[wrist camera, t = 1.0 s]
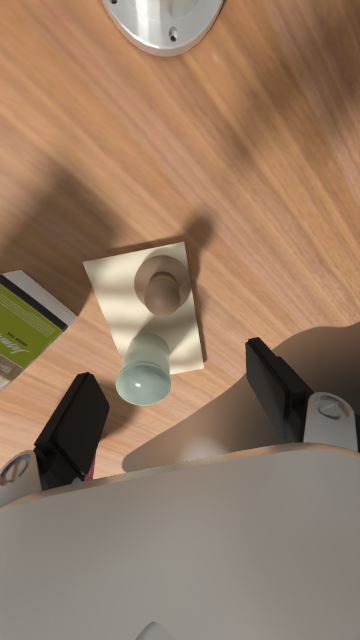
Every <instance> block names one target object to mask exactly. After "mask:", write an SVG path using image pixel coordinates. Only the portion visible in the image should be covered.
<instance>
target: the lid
mask: <svg viewBox="0 0 360 640" xmlns="http://www.w3.org/2000/svg"><path fill="white" fill-rule="evenodd" d="M134 288H135V292H136V295H137V297H138V299H139V300H140V301H141V303H142V304H143V305H145V306H146V307H147V309H148V310H149V311H150V312H151V313H153V314H154V315H157V316H168V315H171V314H173V313H174V312H175V311H176V310H177V309H178V308H179V307H181V306H182V305H183V304H184V303H185V302H186V300H187V299H188V297H189V295H190V292H191V278H190V275H189V272H188V271H187V269H186V267H185V266H184V265H183V264H182V263H181V262H180V261H179V260H177V259H176V258H174V257H171V256H167V255H157V256H153V257H151V258H149V259H147V260H146V261H145V262H143V264H142V265H141V266H140V267H139V269H138V270H137V272H136V275H135V279H134Z"/></svg>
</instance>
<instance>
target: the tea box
mask: <svg viewBox="0 0 360 640" xmlns="http://www.w3.org/2000/svg"><path fill="white" fill-rule="evenodd" d="M76 319H77V316H76V315H75V314H74V313H73V312H72V311H71V310H69V309H68V308H67V307H66V306H65V305H63V304H62V303H61V302H60V301H59V300H57V299H56V298H55V297H54V296H52V295H51V294H50V293H49V292H48V291H46V290H45V289H44V288H43V287H42V286H40V285H39V284H38V283H37V282H36V281H34V280H33V279H32V278H31V277H29V276H28V275H27V274H26V273H24V272H23V271H22V270H17V271H12V272H7V273H3V274H0V392H1V391H2V390H3V389H4V388H5V387H7V386H8V385H9V384H10V383H11V382H12V381H13V380H14V379H15V378H16V377H17V376H19V375H20V374H21V373H22V372H23V371H24V370H25V369H26V368H27V367H28V366H29V365H30V364H31V363H32V362H33V361H34V360H35V359H36V358H37V357H38V356H39V355H40V354H41V353H42V352H43V351H44V350H45V349H46V348H47V347H48V346H49V345H50V344H51V343H52V342H53V341H54V340H55V339H56V338H58V337H59V336H60V335H61V334H62V333H63V332H64V331H65V330H66V329H67V328H68V327H69V326H70V325H71V324H72V323H73V322H74V321H75V320H76Z"/></svg>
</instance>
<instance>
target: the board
mask: <svg viewBox="0 0 360 640" xmlns="http://www.w3.org/2000/svg"><path fill="white" fill-rule="evenodd" d="M157 255H167V256H171V257H174V258H176V259H177V260H179V261H180V262H181V263H182V264H183V265H184V266H185V267H186V269H187V271H188V272H189V269H188V263H187V256H186V250H185V244H184V242H179V243H174V244H169V245H164V246H159V247H154V248H149V249H144V250H140V251H135V252H130V253H125V254H120V255H115V256H110V257H105V258H100V259H95V260H90V261H85V262H83V265H84V267H85V270H86V272H87V275H88V277H89V280H90V282H91V285H92V287H93V290H94V292H95V295H96V297H97V300H98V302H99V305H100V307H101V310H102V312H103V315H104V317H105V320H106V322H107V325H108V327H109V329H110V332H111V334H112V337H113V339H114V342H115V344H116V347H117V349H118V352H119V354H120V357H121V359H122V362H124V359H125V356H126V353H127V350H128V347H129V344H130V342H131V341H132V340H133V339H134V338H135V337H137V336H139V335H142V334H155V335H157V336H160V337H161V338H163V339H164V340H165V341H166V343H167V345H168V347H169V366H170V375H171V374H176V373H182V372H187V371H192V370H197V369H202V368H204V364H203V358H202V352H201V345H200V339H199V333H198V326H197V320H196V314H195V307H194V301H193V294H192V288H191V292H190V295H189V297H188V299H187V300H186V302H185V303H184V304H183V305H182V306H181V307H179V308H178V309H177V310H176V311H175V312H174V313H173V314H171V315H168V316H157V315H154V314H153V313H151V312H150V311H149V310H148V309H147V307H146V306H145V305H143V304H142V303H141V301H140V300H139V299H138V297H137V295H136V292H135V288H134V279H135V275H136V272H137V270H138V269H139V267H140V266H141V265H142V264H143V262H145V261H146V260H147V259H149V258H151V257H153V256H157Z"/></svg>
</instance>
